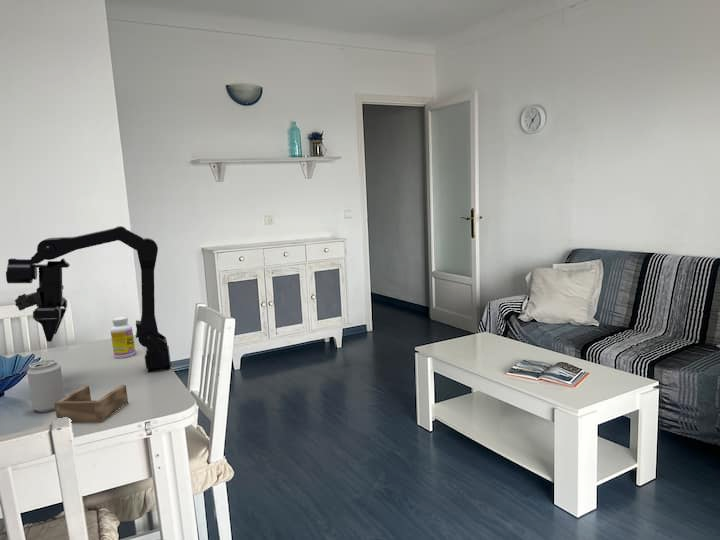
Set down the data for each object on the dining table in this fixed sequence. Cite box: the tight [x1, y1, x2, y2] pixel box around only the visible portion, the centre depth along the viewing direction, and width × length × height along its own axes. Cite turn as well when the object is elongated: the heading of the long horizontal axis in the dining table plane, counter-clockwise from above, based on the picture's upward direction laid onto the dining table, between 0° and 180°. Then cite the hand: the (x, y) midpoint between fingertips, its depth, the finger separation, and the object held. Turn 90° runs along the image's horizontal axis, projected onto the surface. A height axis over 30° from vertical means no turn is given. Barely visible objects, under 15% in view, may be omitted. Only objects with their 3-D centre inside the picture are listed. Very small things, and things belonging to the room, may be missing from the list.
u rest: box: [54, 384, 129, 423], centre depth 135 cm, size 11×11×5 cm
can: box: [26, 359, 66, 413], centre depth 140 cm, size 8×8×12 cm
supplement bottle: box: [110, 316, 136, 359], centre depth 183 cm, size 7×7×13 cm
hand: (51, 337), depth 155 cm, fingers open, 9 cm apart
